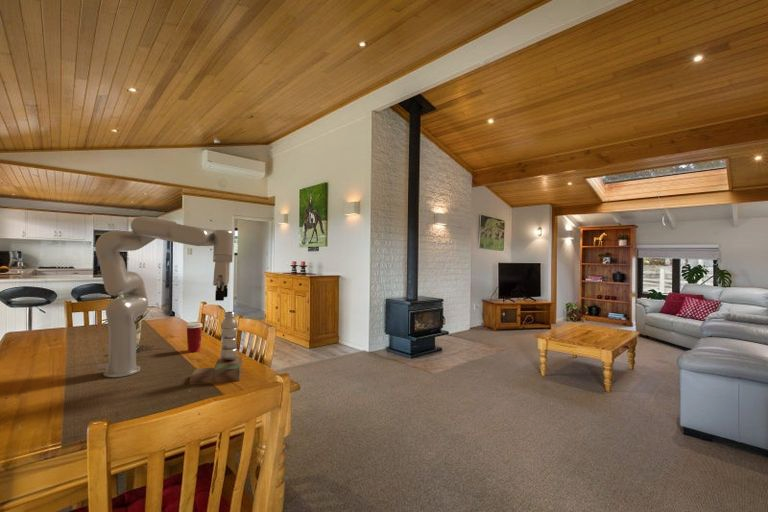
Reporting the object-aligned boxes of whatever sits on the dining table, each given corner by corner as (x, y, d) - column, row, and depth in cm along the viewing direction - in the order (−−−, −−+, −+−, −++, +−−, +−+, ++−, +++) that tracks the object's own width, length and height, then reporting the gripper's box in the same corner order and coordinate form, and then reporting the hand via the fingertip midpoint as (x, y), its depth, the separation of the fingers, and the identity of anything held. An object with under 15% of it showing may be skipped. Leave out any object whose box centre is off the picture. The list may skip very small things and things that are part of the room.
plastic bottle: (231, 362, 147) (231, 314, 146) (216, 361, 148) (217, 313, 148) (240, 358, 153) (241, 311, 153) (227, 356, 155) (227, 310, 154)
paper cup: (205, 350, 187) (205, 323, 187) (190, 354, 180) (191, 326, 180) (197, 347, 191) (197, 321, 191) (182, 351, 185) (182, 324, 184)
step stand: (189, 384, 141) (190, 367, 141) (195, 375, 151) (195, 359, 151) (239, 380, 146) (239, 363, 146) (241, 372, 156) (241, 356, 156)
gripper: (216, 257, 161) (215, 295, 161) (209, 259, 144) (207, 301, 144) (235, 258, 163) (233, 296, 163) (229, 260, 146) (227, 302, 146)
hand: (221, 298), depth 154 cm, fingers open, 9 cm apart
